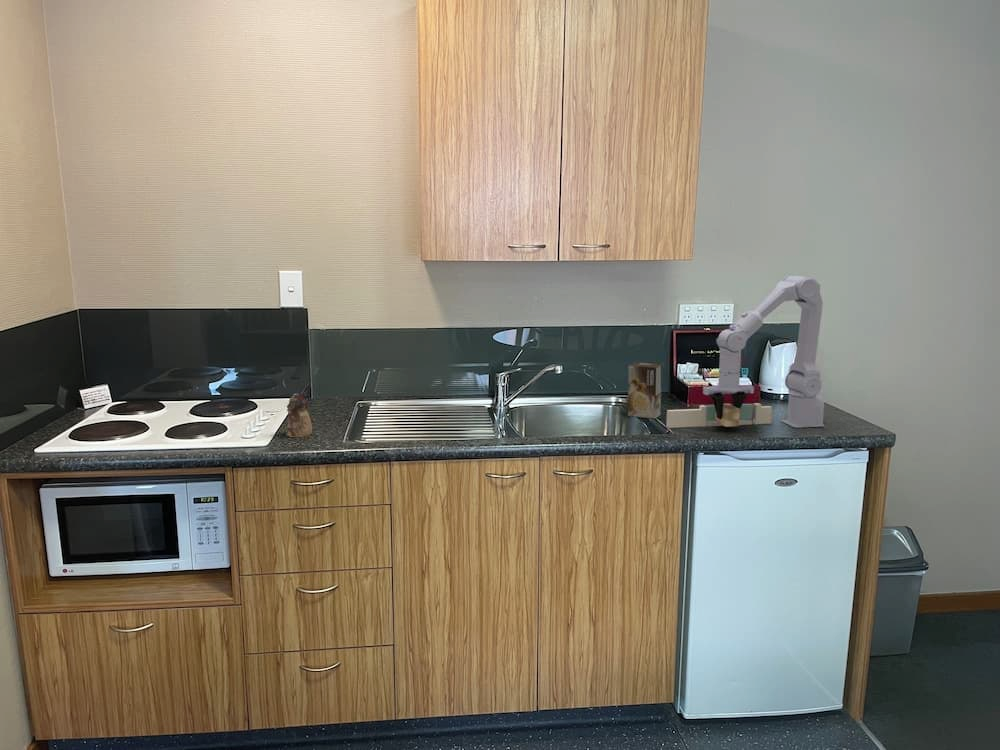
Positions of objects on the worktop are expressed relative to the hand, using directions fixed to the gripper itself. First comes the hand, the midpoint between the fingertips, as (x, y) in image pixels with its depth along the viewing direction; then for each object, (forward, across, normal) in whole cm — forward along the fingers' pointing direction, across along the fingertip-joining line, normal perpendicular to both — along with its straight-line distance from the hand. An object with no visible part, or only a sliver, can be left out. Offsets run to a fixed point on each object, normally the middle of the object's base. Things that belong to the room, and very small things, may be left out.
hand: (726, 418), depth 225 cm
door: (+2, +3, +5) cm, 6 cm away
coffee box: (+4, -18, +20) cm, 27 cm away
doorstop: (+2, 0, 0) cm, 2 cm away
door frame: (+3, 0, +5) cm, 6 cm away
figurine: (+4, -122, +14) cm, 123 cm away
